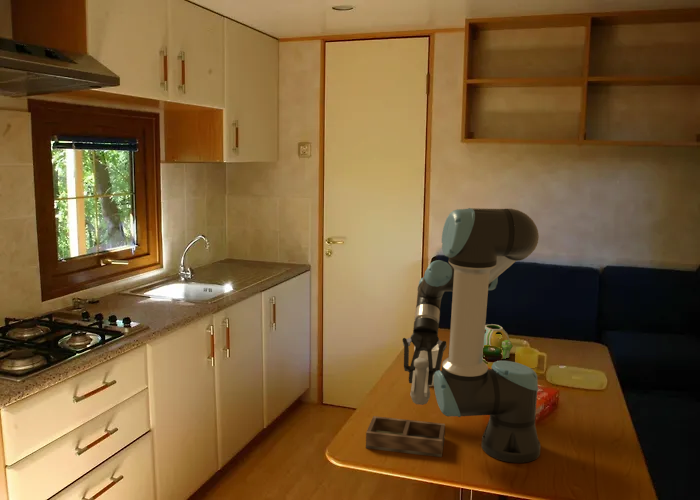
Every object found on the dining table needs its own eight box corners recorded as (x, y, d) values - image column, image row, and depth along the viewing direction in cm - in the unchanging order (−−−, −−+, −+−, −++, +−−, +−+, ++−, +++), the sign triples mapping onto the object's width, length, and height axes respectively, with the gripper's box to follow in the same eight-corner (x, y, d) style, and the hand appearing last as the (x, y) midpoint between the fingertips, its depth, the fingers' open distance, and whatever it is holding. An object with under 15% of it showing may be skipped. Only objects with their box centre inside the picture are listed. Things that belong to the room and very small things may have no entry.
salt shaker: (429, 406, 176) (430, 363, 174) (409, 405, 178) (410, 361, 176) (430, 399, 182) (432, 356, 180) (411, 397, 183) (412, 355, 181)
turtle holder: (493, 368, 225) (495, 336, 223) (469, 352, 242) (471, 323, 240) (522, 364, 229) (524, 333, 227) (497, 349, 246) (498, 320, 244)
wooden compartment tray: (444, 438, 170) (445, 423, 169) (441, 457, 159) (442, 441, 159) (373, 430, 174) (373, 416, 173) (365, 448, 164) (366, 432, 163)
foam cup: (440, 378, 214) (442, 342, 212) (442, 388, 205) (443, 351, 203) (413, 377, 215) (414, 341, 213) (413, 387, 206) (414, 350, 204)
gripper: (453, 330, 190) (447, 402, 177) (401, 326, 194) (392, 396, 180) (452, 318, 184) (447, 391, 171) (399, 314, 188) (389, 385, 174)
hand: (419, 393), depth 175 cm, fingers closed on salt shaker, 3 cm apart
